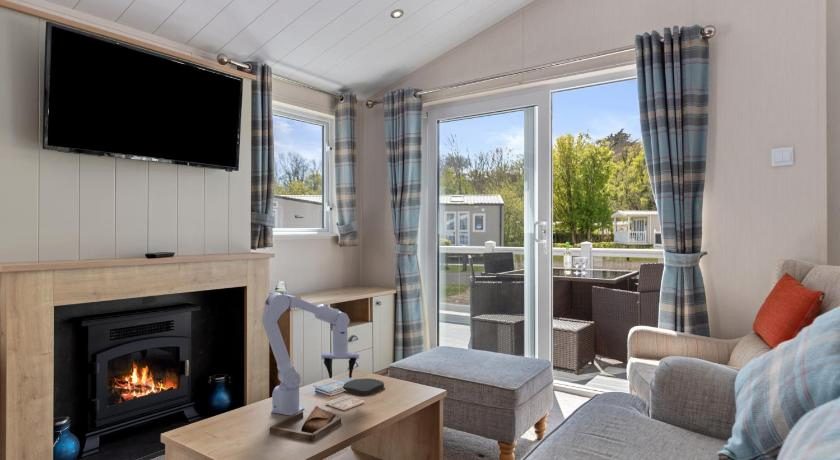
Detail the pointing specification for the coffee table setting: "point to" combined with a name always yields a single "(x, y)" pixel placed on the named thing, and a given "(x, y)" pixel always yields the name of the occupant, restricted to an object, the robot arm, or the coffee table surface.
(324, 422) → the sunglasses case
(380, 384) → the media streaming box
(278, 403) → the robot arm
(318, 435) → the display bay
